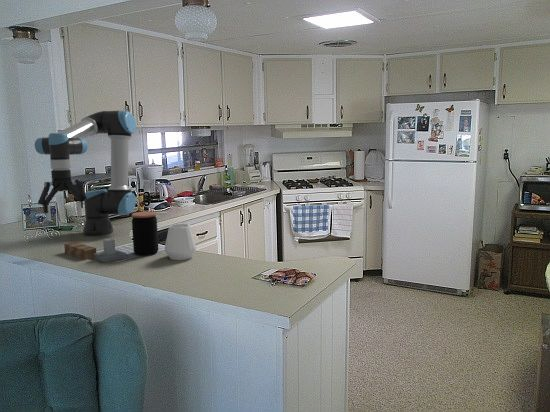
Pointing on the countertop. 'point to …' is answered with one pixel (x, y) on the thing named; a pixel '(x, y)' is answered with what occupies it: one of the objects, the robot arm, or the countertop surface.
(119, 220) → the countertop surface
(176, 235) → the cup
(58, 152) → the robot arm
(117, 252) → the slate fulcrum
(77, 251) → the walnut bar
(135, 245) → the coffee jar
